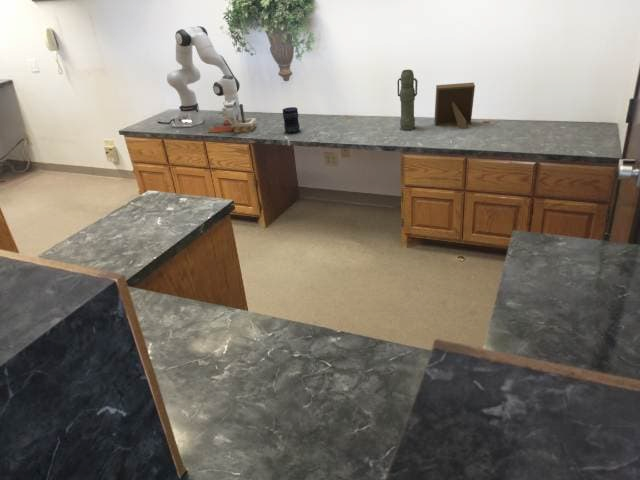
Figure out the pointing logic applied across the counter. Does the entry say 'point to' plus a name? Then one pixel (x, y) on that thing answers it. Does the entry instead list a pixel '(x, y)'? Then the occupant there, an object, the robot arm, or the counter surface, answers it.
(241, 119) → the loop
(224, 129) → the mat
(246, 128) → the stand
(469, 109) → the photo frame
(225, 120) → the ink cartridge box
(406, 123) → the thermos
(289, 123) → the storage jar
